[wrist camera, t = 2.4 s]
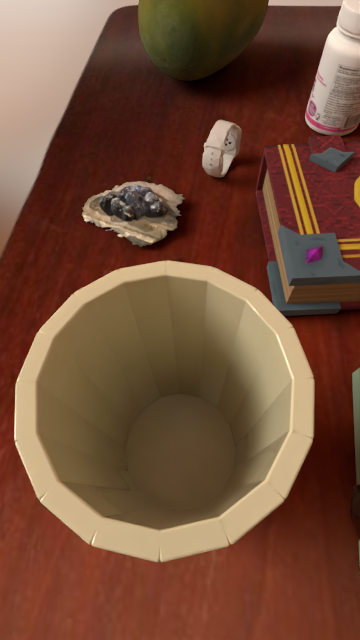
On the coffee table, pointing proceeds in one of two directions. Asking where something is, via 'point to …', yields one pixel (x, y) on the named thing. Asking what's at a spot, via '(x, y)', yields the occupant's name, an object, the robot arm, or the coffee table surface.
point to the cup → (164, 410)
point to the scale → (357, 424)
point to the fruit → (197, 33)
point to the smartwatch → (221, 148)
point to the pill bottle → (338, 77)
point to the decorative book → (312, 224)
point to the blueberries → (135, 211)
